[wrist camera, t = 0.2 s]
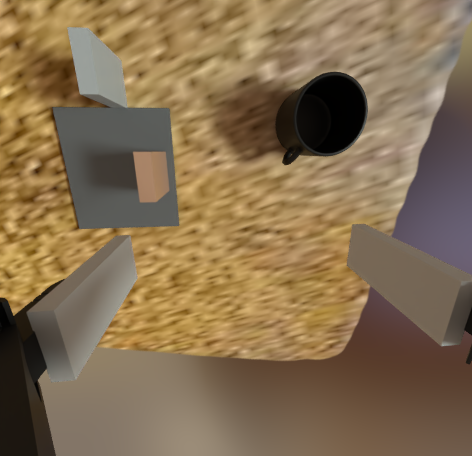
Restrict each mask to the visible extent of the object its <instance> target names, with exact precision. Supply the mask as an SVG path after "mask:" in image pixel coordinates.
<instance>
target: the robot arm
mask: <svg viewBox="0 0 472 456" xmlns="http://www.w3.org/2000/svg"><path fill="white" fill-rule="evenodd" d="M347 266H348V267H349V268H350V269H352V270H353V271H354V272H355V273H356V274H357V275H359V276H360V277H361V278H362V279H363V280H364V281H366V282H367V283H368V284H369V285H370V286H371V287H373V288H374V289H375V290H376V291H377V292H379V293H380V294H381V295H382V296H383V297H384V298H386V299H387V300H388V301H389V302H390V303H391V304H393V305H394V306H395V307H396V308H397V309H398V310H400V311H401V312H402V313H403V314H404V315H405V316H407V317H408V318H409V319H410V320H411V321H412V322H414V323H415V324H416V325H417V326H418V327H419V328H421V329H422V330H423V331H424V332H425V333H427V334H428V335H429V336H430V337H431V338H433V339H434V340H435V341H436V342H437V343H438V344H439V345H441V346H448V345H458V344H460V343H461V340H462V337H463V334H464V331H467V332H468V333H469V334H471V335H472V275H470V274H468V273H466V272H464V271H462V270H460V269H458V268H456V267H453V266H451V265H449V264H447V263H445V262H443V261H441V260H439V259H437V258H435V257H432V256H430V255H428V254H426V253H424V252H422V251H420V250H418V249H415V248H414V247H412V246H409V245H407V244H405V243H403V242H401V241H399V240H397V239H395V238H393V237H391V236H389V235H386V234H384V233H382V232H380V231H378V230H376V229H374V228H372V227H370V226H368V225H366V224H353V225H352V231H351V238H350V245H349V252H348V259H347ZM136 280H137V272H136V267H135V261H134V255H133V249H132V243H131V237H130V235H122V236H115V237H114V238H113V239H112V240H111V241H109V242H108V243H107V244H106V245H105V246H104V247H102V248H101V249H100V250H99V251H98V252H96V253H95V254H94V255H93V256H92V257H91V258H89V259H88V260H87V261H86V262H85V263H84V264H82V265H81V266H80V267H79V268H78V269H77V270H75V271H74V272H73V273H72V274H71V275H70V276H68V277H67V278H66V279H63V280H61V281H59V282H57V283H55V284H53V285H51V286H50V287H49V288H47V289H46V290H45V291H44V292H42V293H41V295H39V296H38V297H36V298H35V299H34V300H33V302H30V303H29V304H28V305H27V306H25V307H24V308H23V309H22V310H20V311H19V312H18V313H17V314H16V315H14V316H13V314H12V311H11V308H10V306H9V303H8V301H7V300H6V299H5V298H0V456H56V454H55V450H54V446H53V441H52V437H51V432H50V428H49V423H48V419H47V414H46V410H45V405H44V401H43V396H42V392H41V388H40V385H39V382H38V379H39V377H40V376H41V375H42V374H43V372H44V371H45V370H46V369H47V372H48V374H49V377H50V380H51V382H59V381H70V380H76V379H77V377H78V375H79V373H80V372H81V370H82V369H83V367H84V365H85V363H86V362H87V360H88V359H89V357H90V355H91V354H92V352H93V351H94V349H95V347H96V346H97V344H98V342H99V341H100V339H101V337H102V336H103V334H104V332H105V331H106V329H107V328H108V326H109V324H110V323H111V321H112V319H113V318H114V316H115V314H116V313H117V311H118V309H119V308H120V306H121V305H122V303H123V301H124V300H125V298H126V296H127V295H128V293H129V291H130V290H131V288H132V286H133V285H134V283H135V282H136ZM471 361H472V345H471V348H470V351H469V353H468V356H467V359H466V363H467V364H470V363H471Z"/></svg>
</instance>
